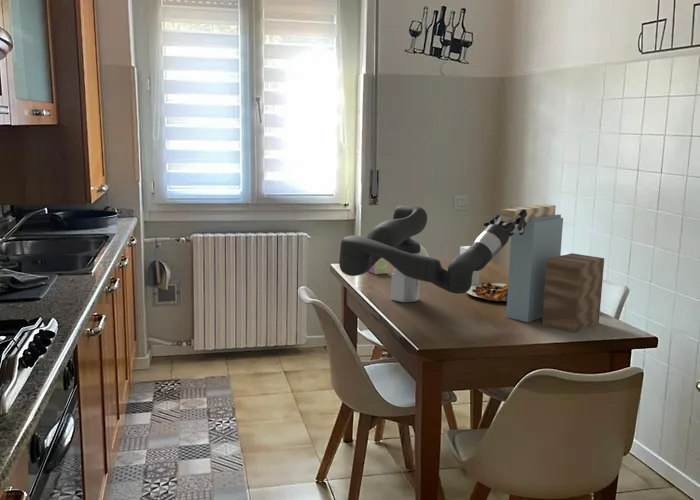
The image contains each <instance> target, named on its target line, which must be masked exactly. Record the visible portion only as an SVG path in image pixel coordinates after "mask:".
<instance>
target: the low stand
mask: <svg viewBox="0 0 700 500" xmlns="http://www.w3.org/2000/svg"><path fill="white" fill-rule="evenodd" d="M604 266H605V258H604V257H598V256H594V255H593V256H591V255H586V254H578V253H574V252H572V253H568V254H564V255H560V256H558V257H554V258H549V259H547V263H546V277H545V291H544V305H543V317H542V319H541V320H542V323H541V325H542V326H545V327H550V328H554V329H558V330H563V331H567V332H571V333H576V332H579V331H582V330H585V329H587V328H590V327H592V326H595V325H597V324H599V323H600V315H601V303H602V292H603V290H602V289H603V279H604V269H605V267H604Z"/></svg>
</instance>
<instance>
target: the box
mask: <svg viewBox="0 0 700 500" xmlns="http://www.w3.org/2000/svg"><path fill="white" fill-rule="evenodd" d="M367 272H369V273H372V274H373V275H382V274H388V261H386V260H385V259H383V258H380V259H379V260H378V261H377V262H376V263H375V264H374V265H373V266H372V267H371V268H370V269H369V270H368V271H367Z"/></svg>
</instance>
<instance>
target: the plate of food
mask: <svg viewBox="0 0 700 500" xmlns="http://www.w3.org/2000/svg"><path fill="white" fill-rule="evenodd" d="M466 293H467V294H468V295H471V296H473V297H478V298H480V299H483V300H486V301H491V302H507V294H508V281H507V282H506V283H501V282H500V283H499V282H498V283H496V282H495V283H493V282H492V283H491V282H489V281H488V282H487V283H486V282H484V281H483V282H482V283H481V284H480V283H479V284H478V285H473V286H471V288H470V289H469V291H467V292H466Z"/></svg>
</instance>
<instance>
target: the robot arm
mask: <svg viewBox="0 0 700 500" xmlns="http://www.w3.org/2000/svg"><path fill="white" fill-rule="evenodd" d="M511 208H512V207H509V208H508V209H511ZM526 216H527V212H526V209H522V211H521V212H520V213H519V214H518V216H516V217H515V218H514V219H512V220H508V221H507V222H506V221H502V218H500V214H499V213H496V214H494V215H493V216H491V217H489V218H488V219H487V220H485V221H484V222H483V227H484V229H483V231H482V232H481V233H480V234H479V235H478V236H477V237H476V238H475V240H474V241H473V243H472V244H471V245H469V246H470V247H469V248H468V250H467V251H466V252H464V253H462V254H460V253H459V255H457V256H455V257H454V258H453V259H452V260H451V261H450V263H449V265H448V266H447V269H444V268H443V266H442V264H441V262H440V260H439V259H437V258H434V257H429V256H425V255H421V244H420V243H419V242H417V241H415V240H414V239H412V238H411V237H413V236H416V235H418V234H420V233H422V232H423V230H425V228H426V226H427V223H428V214H427V211H426V210H425V209H424V208H423V207H420V206H413V205H398V206H397V207H396V208H395V209H394V212H393V217H392V219H388V220H386V221H383V222H381V223H379V224H377V225H376V226H374V227H373V228H372V229H371V230H370V231H369V233H367V236H366V237H364V236H360V235H347V236H345V237H343V238H342V240H341V241H340V250H339V251H340V252H339V263H338V264H339V269H340V270H341V272H342V273H343V274H344V275H347V276H350V277H357V276H361V275H364V274H366V273H367V272H369V271H368V270H369V269H370V268H371V267H372V266H373V265H374V264H375V263H376V262H377V261H378V260H379V259H380V258H383V259H385V260H386V261H387V263H389V264H390V265H391V266H392V267H393V272H392V273H391V275H390V276H391V278H390V284H391V285H390V300H392V301H395V302H396V301H397V302H401V303H413V302H418V301H419V292H420V281H422V282H426V283H431V284H433V285H434V286H437V287H438V288H441V289H443V290H445V291H447V292H449V293H452V294H456V295H459V294H460V295H461V294H465V293H467V291H469V289H470V288H471V284H472V274H473V272H474V271H479V272H480V271H481V270H483V269H484V268H485V267H486V266H487V265H488V264H489V262H490V261H491V260H492V259H493V258H494V257H495V258H496V256H497V255H498V254H499V252H500V251H501V250H502V249H503V248H504V246H506V245H507V243H508V242H509V239H510V238H511V236H512V235H513V234H514V233H519V235H523V233H524V230H525V227H526V221H525V217H526ZM516 221H518V222H517V223H516ZM512 222H513V224H512Z"/></svg>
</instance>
